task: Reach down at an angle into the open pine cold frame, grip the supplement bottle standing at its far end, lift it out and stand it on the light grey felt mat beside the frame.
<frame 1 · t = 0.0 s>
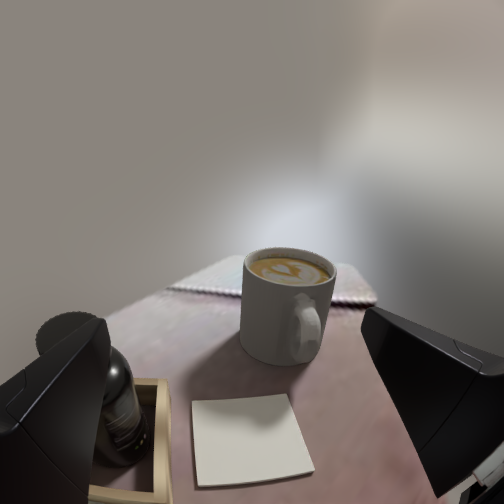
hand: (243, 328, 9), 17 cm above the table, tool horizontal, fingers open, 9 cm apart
cold frame: (113, 447, 18), on the table
felt mat: (247, 438, 21), on the table
coffee mug: (281, 348, 33), on the table
supplement bottle: (115, 439, 19), resting in cold frame
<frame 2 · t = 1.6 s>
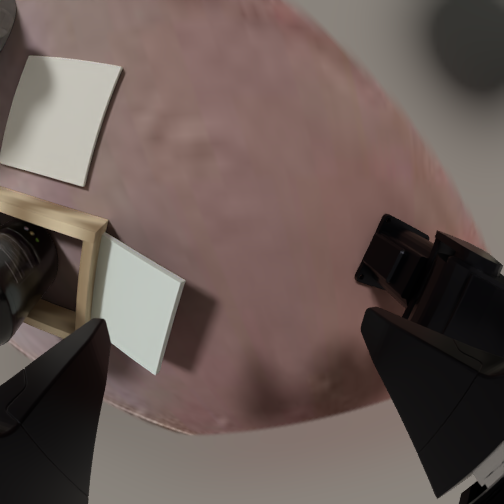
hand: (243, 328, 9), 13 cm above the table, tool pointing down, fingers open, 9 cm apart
cold frame: (38, 256, 19), on the table
felt mat: (52, 115, 16), on the table
frame lid: (131, 288, 22), on the table
supplement bottle: (30, 252, 19), resting in cold frame
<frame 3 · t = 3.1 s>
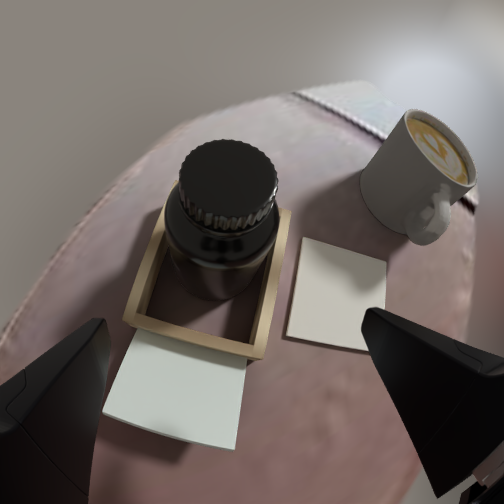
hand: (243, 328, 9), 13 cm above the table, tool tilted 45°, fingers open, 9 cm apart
cold frame: (211, 274, 24), on the table
felt mat: (341, 296, 25), on the table
coffee mug: (392, 208, 31), on the table
frame lid: (182, 381, 20), on the table
supplement bottle: (214, 264, 24), resting in cold frame
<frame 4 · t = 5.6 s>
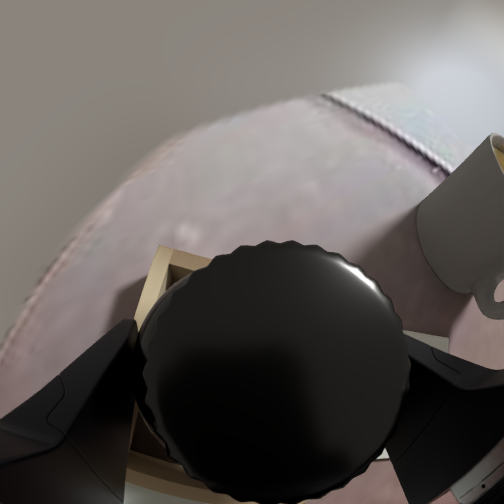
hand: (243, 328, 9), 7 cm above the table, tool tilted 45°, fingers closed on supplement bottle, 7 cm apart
cold frame: (222, 388, 15), on the table
felt mat: (397, 395, 16), on the table
coffee mug: (452, 258, 21), on the table
supplement bottle: (226, 371, 15), resting in cold frame, touching gripper
when the fingers open (8 cm above the table, at t = 8.9 s): supplement bottle stays where it is, resting on felt mat.
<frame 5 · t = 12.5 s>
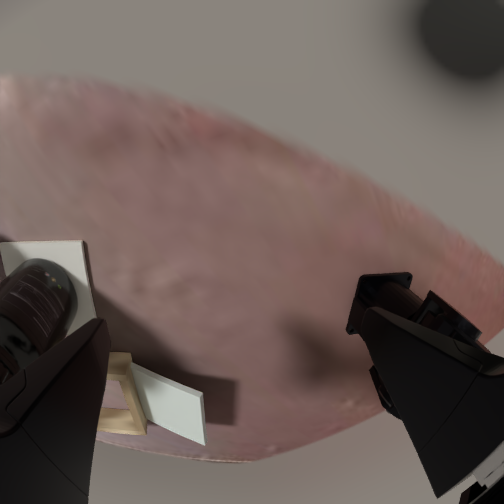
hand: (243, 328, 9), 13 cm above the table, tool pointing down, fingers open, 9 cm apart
cold frame: (87, 383, 25), on the table
felt mat: (47, 290, 20), on the table
frame lid: (167, 388, 26), on the table
supplement bottle: (48, 290, 20), resting on felt mat
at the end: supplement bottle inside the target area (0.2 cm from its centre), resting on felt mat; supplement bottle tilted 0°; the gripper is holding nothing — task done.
